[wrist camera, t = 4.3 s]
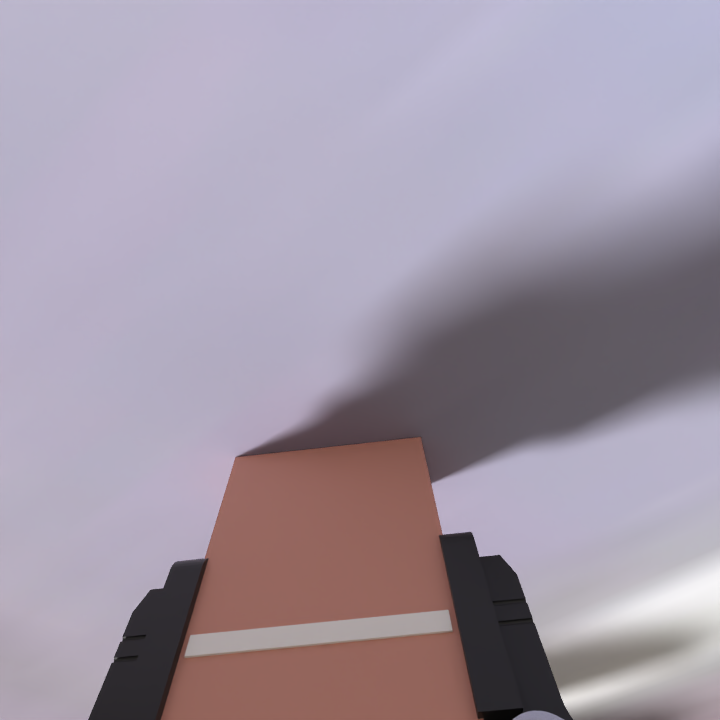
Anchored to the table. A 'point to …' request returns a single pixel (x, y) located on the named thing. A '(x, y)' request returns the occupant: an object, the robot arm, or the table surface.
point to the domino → (325, 595)
